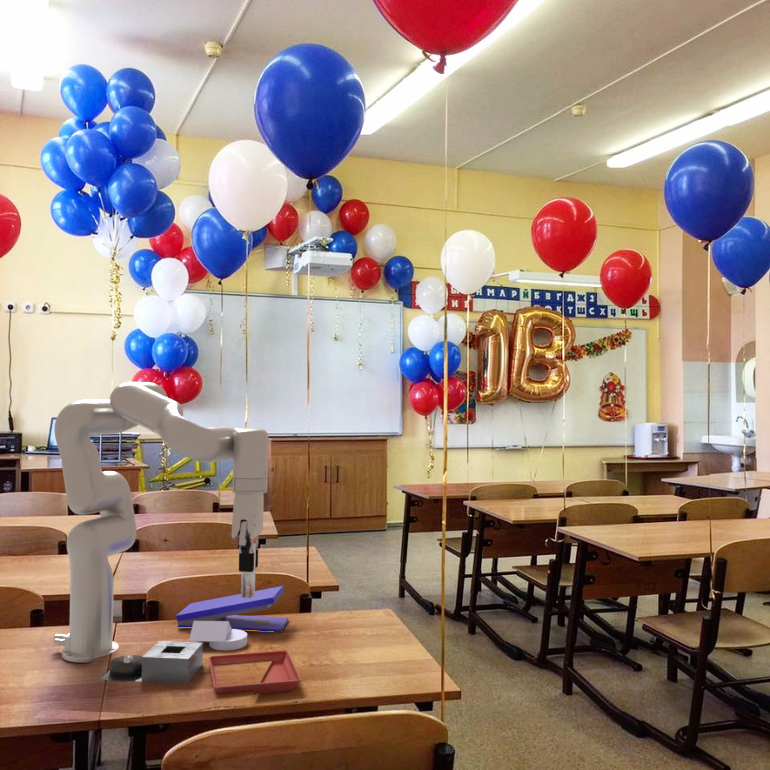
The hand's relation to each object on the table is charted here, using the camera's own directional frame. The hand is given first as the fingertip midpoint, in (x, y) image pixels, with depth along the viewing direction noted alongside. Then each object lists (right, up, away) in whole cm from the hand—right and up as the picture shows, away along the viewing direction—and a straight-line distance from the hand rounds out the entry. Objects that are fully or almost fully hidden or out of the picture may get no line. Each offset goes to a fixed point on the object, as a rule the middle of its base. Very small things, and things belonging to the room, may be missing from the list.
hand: (248, 568), depth 161 cm
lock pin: (0, -6, 0) cm, 6 cm away
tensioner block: (-21, -24, 0) cm, 32 cm away
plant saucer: (+1, -25, 0) cm, 25 cm away
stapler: (-11, -25, +37) cm, 46 cm away
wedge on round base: (-10, -24, +19) cm, 32 cm away
